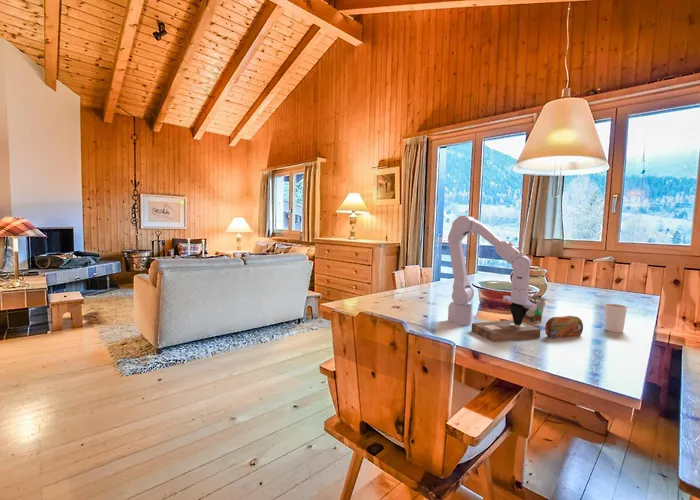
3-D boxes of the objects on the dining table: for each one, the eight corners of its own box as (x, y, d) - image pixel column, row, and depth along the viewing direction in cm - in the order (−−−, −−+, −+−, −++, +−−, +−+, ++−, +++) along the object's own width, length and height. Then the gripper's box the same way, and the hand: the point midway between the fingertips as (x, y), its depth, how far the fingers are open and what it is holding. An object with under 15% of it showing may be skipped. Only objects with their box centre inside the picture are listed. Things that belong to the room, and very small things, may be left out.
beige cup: (628, 333, 134) (630, 308, 133) (608, 332, 135) (611, 307, 134) (618, 328, 140) (620, 304, 139) (600, 327, 142) (602, 303, 141)
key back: (508, 331, 131) (508, 323, 130) (517, 330, 132) (518, 322, 132) (516, 335, 127) (517, 327, 126) (526, 334, 128) (527, 326, 128)
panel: (471, 333, 131) (471, 323, 130) (515, 329, 136) (515, 319, 136) (492, 344, 119) (493, 333, 119) (539, 339, 125) (540, 329, 125)
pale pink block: (483, 333, 128) (483, 325, 127) (493, 332, 129) (493, 324, 129) (491, 337, 123) (491, 329, 123) (501, 336, 125) (502, 328, 124)
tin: (549, 342, 123) (551, 318, 122) (542, 339, 126) (544, 316, 125) (583, 338, 127) (584, 316, 126) (575, 336, 130) (577, 314, 129)
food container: (550, 326, 142) (552, 302, 141) (535, 326, 142) (536, 301, 141) (535, 317, 154) (536, 295, 153) (521, 317, 154) (522, 295, 153)
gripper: (544, 291, 122) (542, 329, 123) (514, 284, 136) (512, 318, 137) (528, 292, 120) (525, 331, 121) (499, 284, 134) (497, 319, 135)
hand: (517, 324), depth 129 cm, fingers closed
